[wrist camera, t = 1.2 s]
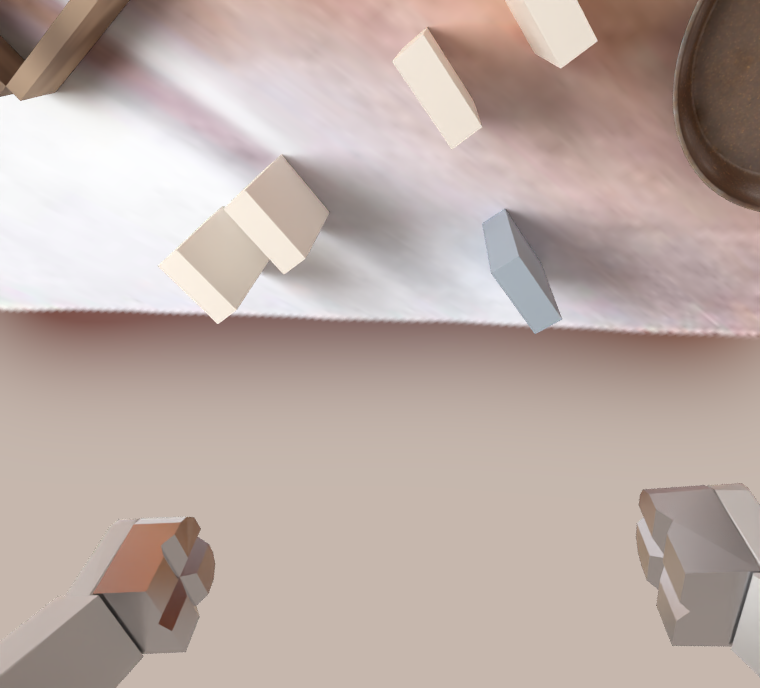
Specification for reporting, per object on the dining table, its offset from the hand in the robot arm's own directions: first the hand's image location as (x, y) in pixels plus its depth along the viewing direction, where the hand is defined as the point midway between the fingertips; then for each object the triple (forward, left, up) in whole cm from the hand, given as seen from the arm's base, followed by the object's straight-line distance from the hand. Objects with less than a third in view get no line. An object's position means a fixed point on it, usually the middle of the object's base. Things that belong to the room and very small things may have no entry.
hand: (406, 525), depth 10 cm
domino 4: (-9, -3, -30) cm, 31 cm away
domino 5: (-1, +9, -30) cm, 31 cm away
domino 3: (-3, -3, -30) cm, 30 cm away
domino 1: (+15, -3, -30) cm, 34 cm away
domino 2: (+9, -3, -30) cm, 31 cm away
